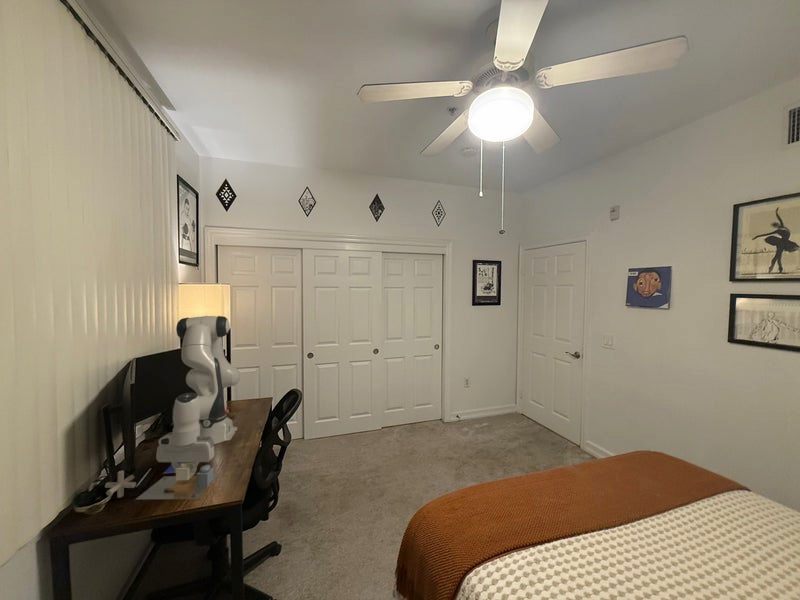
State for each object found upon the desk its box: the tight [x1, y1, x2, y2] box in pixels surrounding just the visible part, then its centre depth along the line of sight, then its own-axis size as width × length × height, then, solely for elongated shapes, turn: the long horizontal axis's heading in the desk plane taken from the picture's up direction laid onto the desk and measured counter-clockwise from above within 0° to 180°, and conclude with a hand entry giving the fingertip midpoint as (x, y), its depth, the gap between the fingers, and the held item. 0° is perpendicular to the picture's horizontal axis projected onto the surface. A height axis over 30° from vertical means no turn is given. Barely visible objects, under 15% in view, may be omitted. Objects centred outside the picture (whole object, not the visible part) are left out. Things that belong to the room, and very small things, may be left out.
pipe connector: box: [104, 470, 137, 498], centre depth 117 cm, size 10×10×10 cm
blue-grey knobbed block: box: [195, 464, 215, 485], centre depth 127 cm, size 4×4×6 cm
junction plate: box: [135, 475, 219, 500], centre depth 123 cm, size 15×22×1 cm
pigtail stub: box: [164, 477, 197, 495], centre depth 121 cm, size 5×11×4 cm, turn 92°
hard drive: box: [162, 462, 193, 475], centre depth 139 cm, size 2×8×12 cm
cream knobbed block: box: [175, 462, 196, 480], centre depth 121 cm, size 4×4×6 cm
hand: (185, 472), depth 121 cm, fingers closed on cream knobbed block, 4 cm apart
